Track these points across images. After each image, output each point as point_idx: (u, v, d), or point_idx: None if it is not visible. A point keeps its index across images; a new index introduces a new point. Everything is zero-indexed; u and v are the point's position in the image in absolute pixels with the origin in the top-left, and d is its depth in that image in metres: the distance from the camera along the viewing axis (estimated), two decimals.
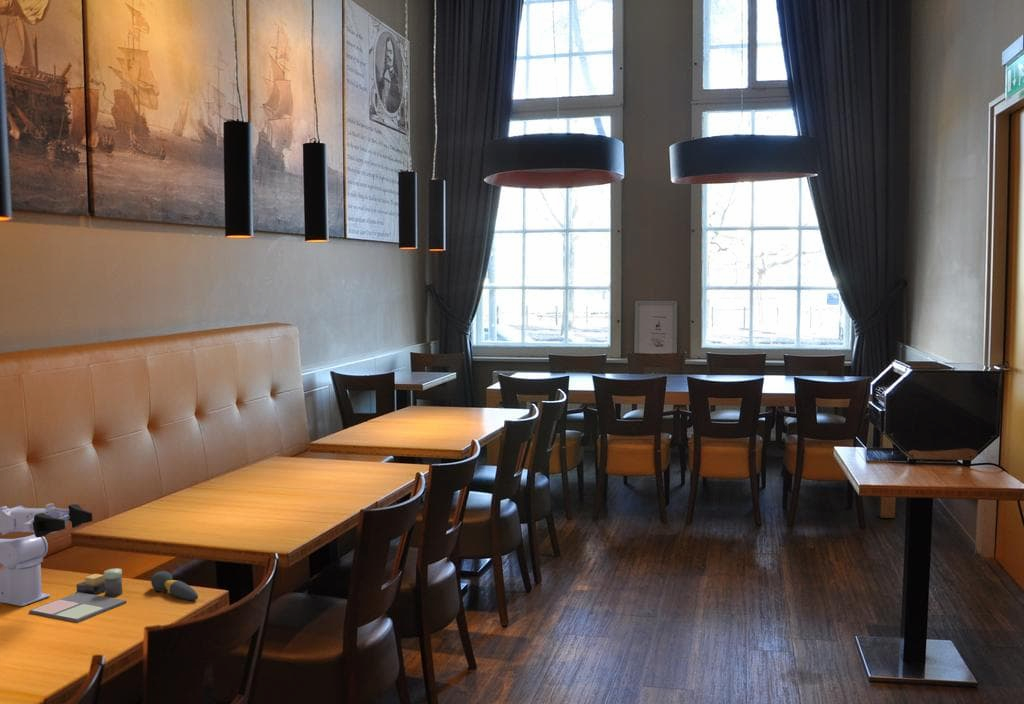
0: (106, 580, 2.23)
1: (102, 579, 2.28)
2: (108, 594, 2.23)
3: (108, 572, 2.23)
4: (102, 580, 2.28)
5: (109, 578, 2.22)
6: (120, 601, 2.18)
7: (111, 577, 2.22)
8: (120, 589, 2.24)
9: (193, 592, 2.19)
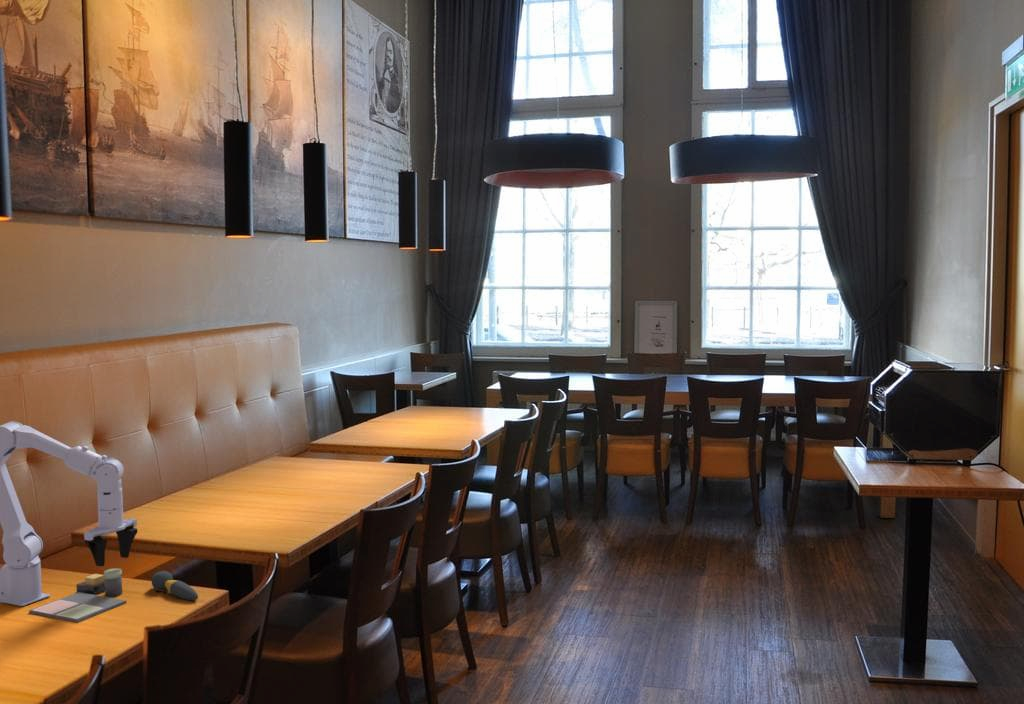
0: (106, 580, 2.23)
1: (102, 579, 2.28)
2: (108, 594, 2.23)
3: (108, 572, 2.23)
4: (102, 580, 2.28)
5: (109, 578, 2.22)
6: (120, 601, 2.18)
7: (111, 577, 2.22)
8: (120, 589, 2.24)
9: (193, 592, 2.19)
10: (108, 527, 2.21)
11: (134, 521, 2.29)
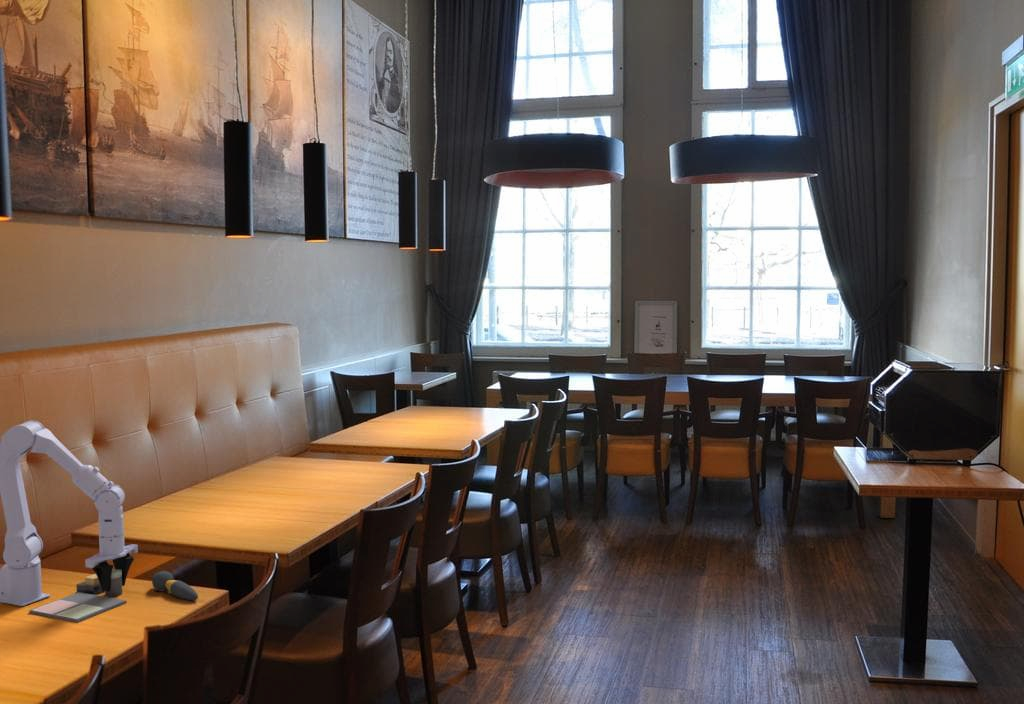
0: None
1: None
2: (108, 594, 2.23)
3: None
4: None
5: None
6: (120, 601, 2.18)
7: (111, 577, 2.22)
8: (120, 589, 2.24)
9: (193, 592, 2.19)
10: (109, 554, 2.21)
11: (135, 547, 2.29)
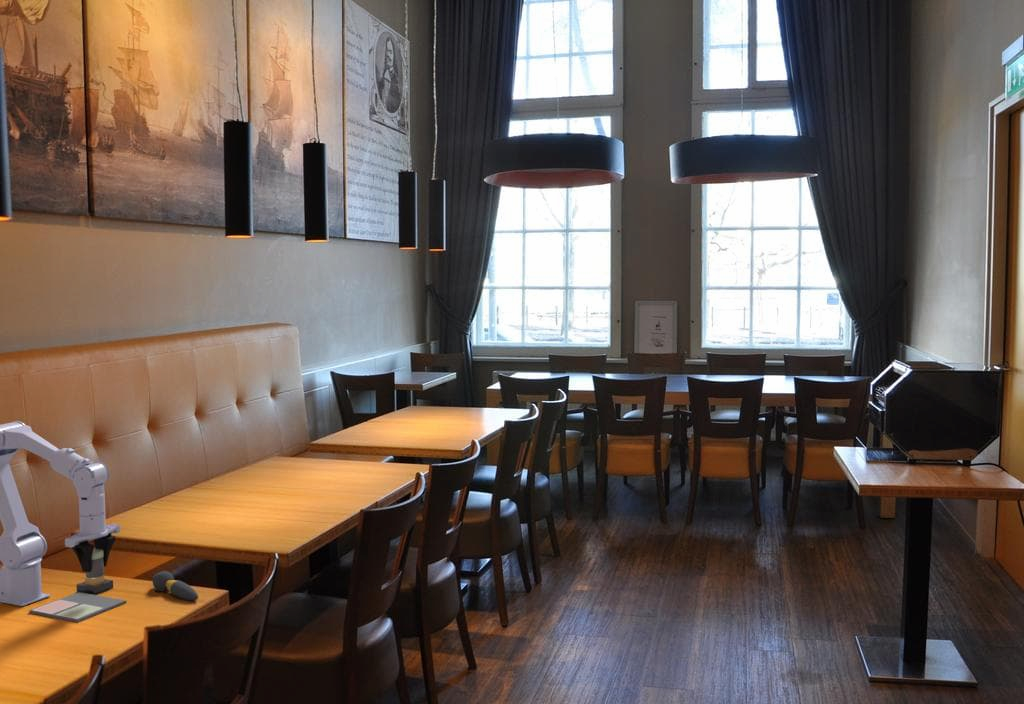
0: None
1: (102, 579, 2.28)
2: (89, 575, 2.15)
3: None
4: (102, 580, 2.28)
5: None
6: (120, 601, 2.18)
7: (92, 557, 2.14)
8: (102, 570, 2.16)
9: (193, 592, 2.19)
10: (90, 533, 2.13)
11: (117, 527, 2.21)
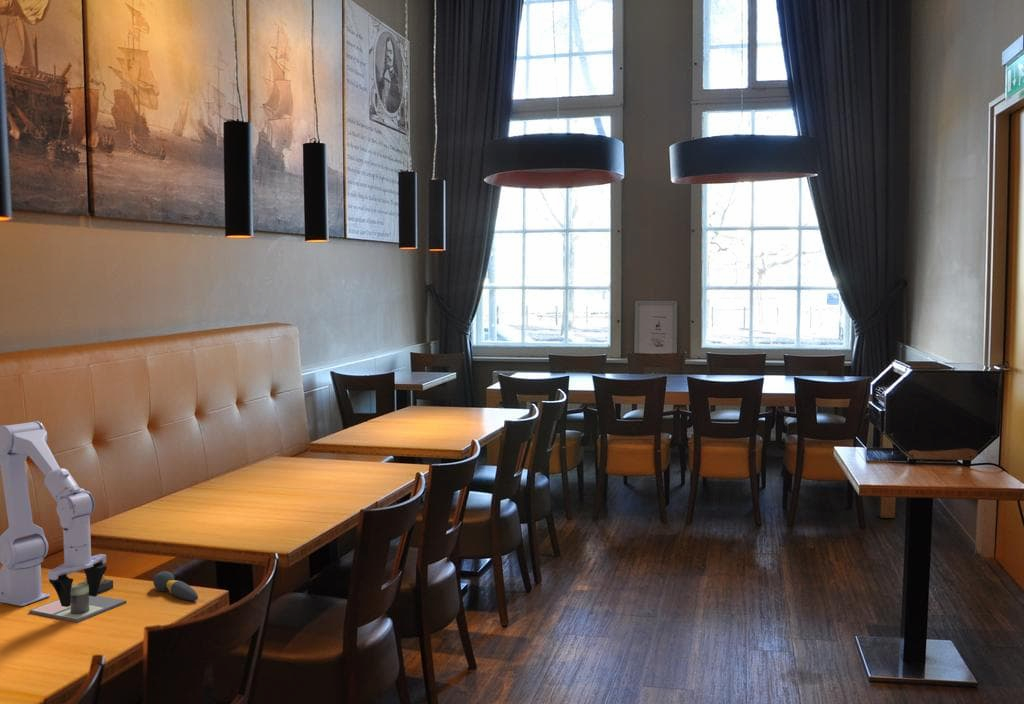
0: (71, 596, 2.09)
1: (102, 579, 2.28)
2: (74, 611, 2.09)
3: (74, 588, 2.09)
4: (102, 580, 2.28)
5: (75, 594, 2.08)
6: (120, 601, 2.18)
7: (77, 593, 2.08)
8: (87, 606, 2.10)
9: (193, 593, 2.19)
10: (74, 565, 2.07)
11: (103, 557, 2.15)
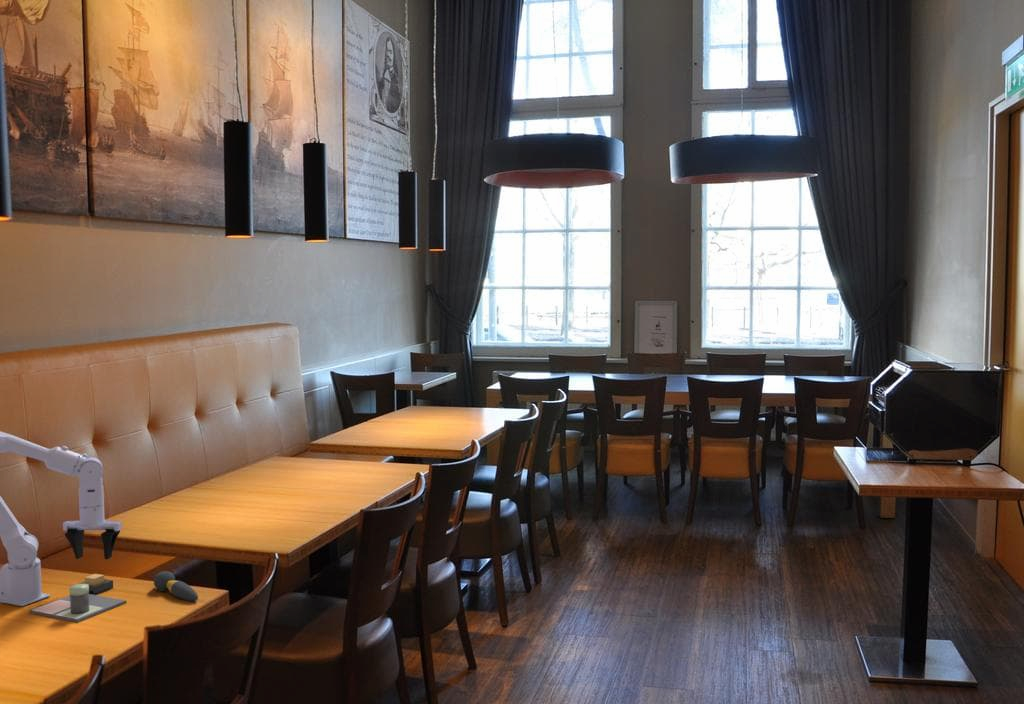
0: (71, 596, 2.09)
1: (102, 579, 2.28)
2: (74, 611, 2.09)
3: (74, 588, 2.09)
4: (102, 580, 2.28)
5: (75, 594, 2.08)
6: (120, 601, 2.18)
7: (77, 593, 2.08)
8: (87, 606, 2.10)
9: (193, 593, 2.19)
10: (79, 523, 2.25)
11: (114, 525, 2.25)
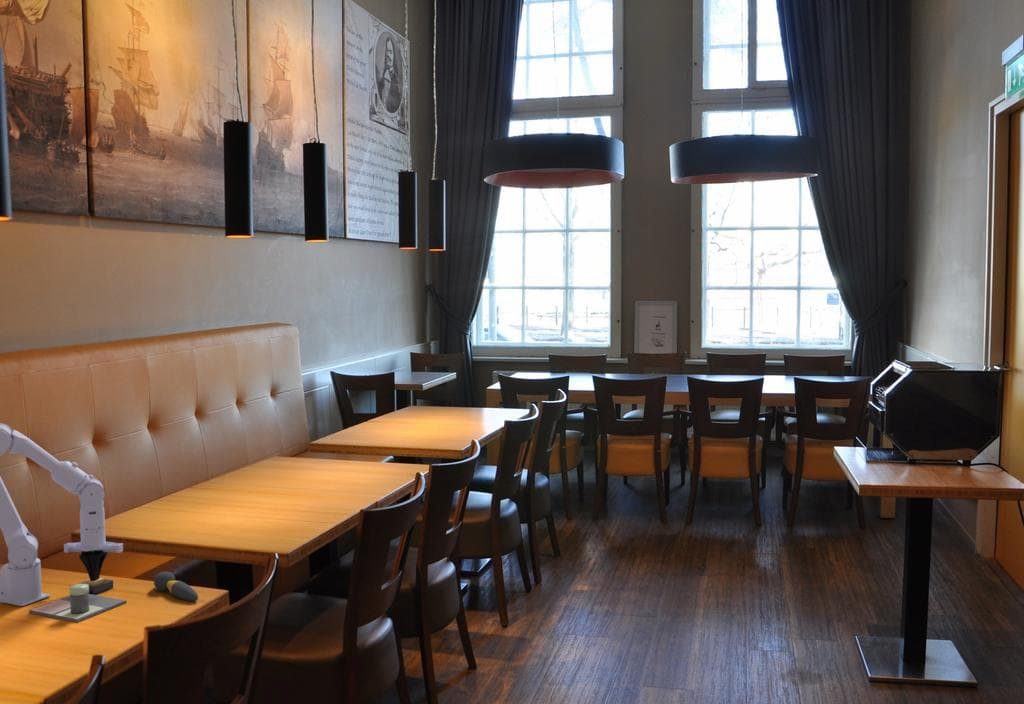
0: (71, 596, 2.09)
1: (102, 582, 2.28)
2: (74, 611, 2.09)
3: (74, 588, 2.09)
4: None
5: (75, 594, 2.08)
6: (120, 601, 2.18)
7: (77, 593, 2.08)
8: (87, 606, 2.10)
9: (193, 593, 2.19)
10: (80, 545, 2.26)
11: (115, 547, 2.26)
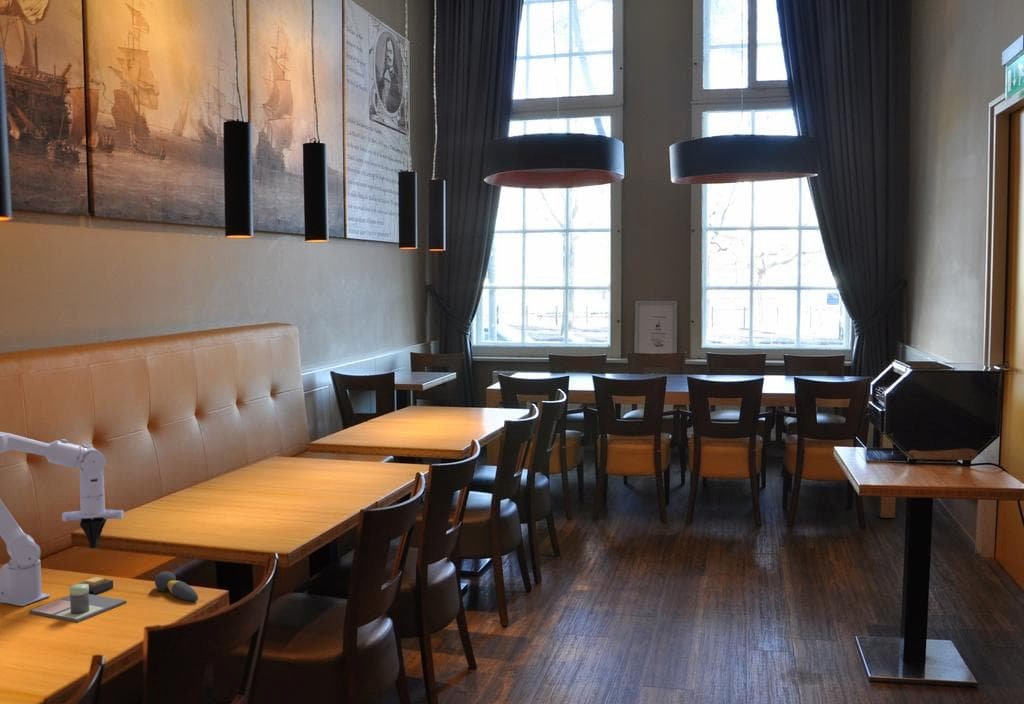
0: (71, 596, 2.09)
1: (102, 582, 2.28)
2: (74, 611, 2.09)
3: (74, 588, 2.09)
4: None
5: (75, 594, 2.08)
6: (120, 601, 2.18)
7: (77, 593, 2.08)
8: (87, 606, 2.10)
9: (193, 593, 2.19)
10: (80, 513, 2.27)
11: (117, 513, 2.29)
